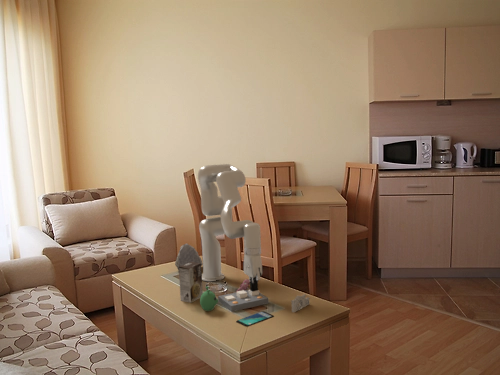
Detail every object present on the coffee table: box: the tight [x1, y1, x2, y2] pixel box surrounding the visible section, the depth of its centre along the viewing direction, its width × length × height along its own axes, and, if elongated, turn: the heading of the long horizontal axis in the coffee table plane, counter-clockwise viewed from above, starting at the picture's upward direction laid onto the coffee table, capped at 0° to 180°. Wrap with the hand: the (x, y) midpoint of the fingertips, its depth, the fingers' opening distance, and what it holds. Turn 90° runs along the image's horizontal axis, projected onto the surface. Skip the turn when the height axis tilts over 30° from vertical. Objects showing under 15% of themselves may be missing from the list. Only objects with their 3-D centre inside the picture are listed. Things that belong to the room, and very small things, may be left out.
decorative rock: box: [174, 243, 203, 271], centre depth 259 cm, size 16×7×15 cm, turn 118°
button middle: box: [235, 290, 247, 299], centre depth 207 cm, size 4×4×3 cm
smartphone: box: [235, 310, 275, 328], centre depth 188 cm, size 7×1×15 cm
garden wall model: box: [290, 294, 311, 313], centre depth 198 cm, size 12×2×6 cm, turn 139°
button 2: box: [248, 289, 260, 296], centre depth 210 cm, size 4×4×3 cm
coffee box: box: [178, 262, 204, 304], centre depth 213 cm, size 9×6×16 cm
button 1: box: [224, 295, 235, 301], centre depth 205 cm, size 4×4×3 cm
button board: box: [217, 289, 270, 312], centre depth 207 cm, size 14×18×3 cm
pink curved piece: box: [235, 278, 250, 293], centre depth 221 cm, size 10×5×7 cm, turn 169°
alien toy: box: [199, 286, 219, 312], centre depth 198 cm, size 7×8×10 cm
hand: (254, 290), depth 210 cm, fingers closed
